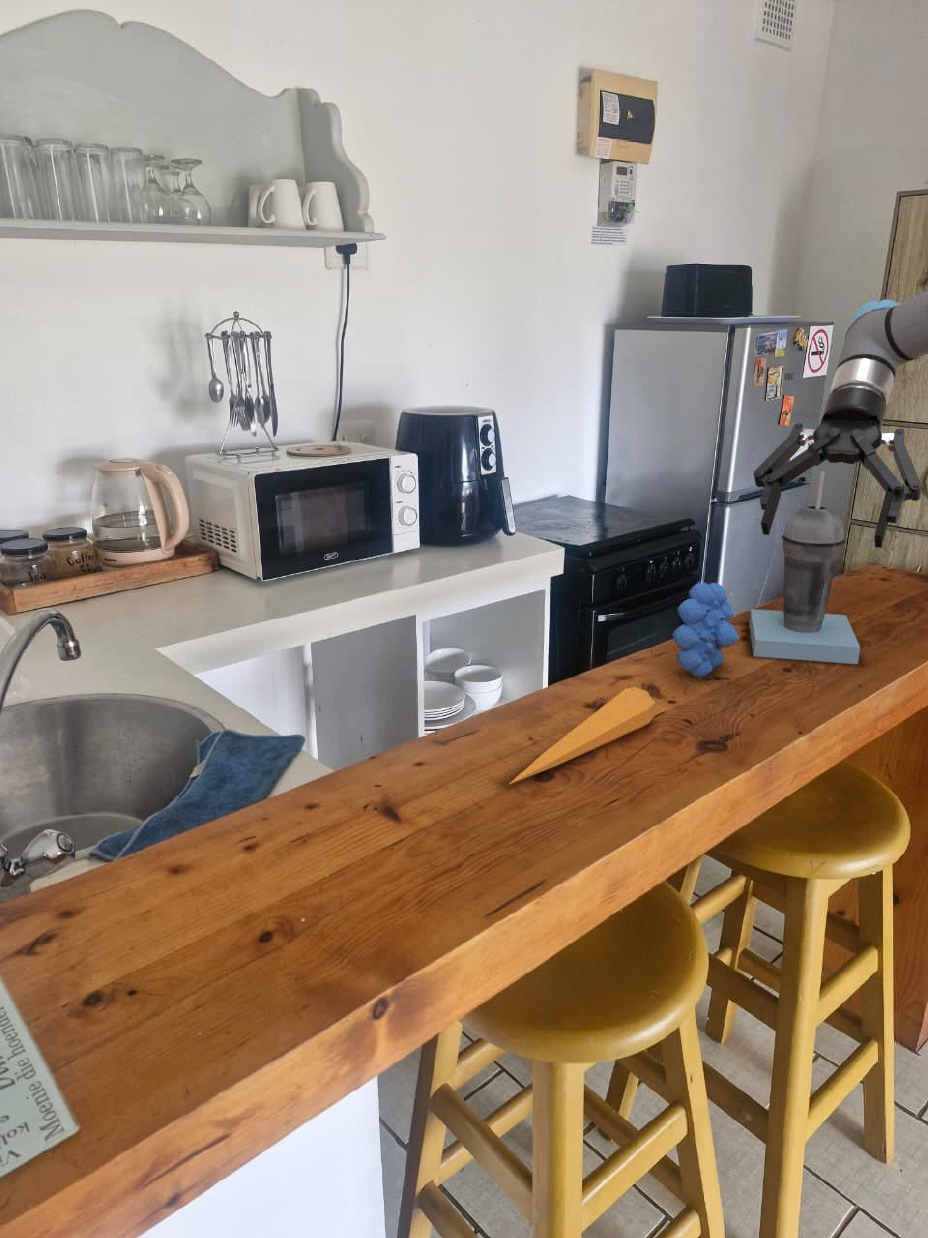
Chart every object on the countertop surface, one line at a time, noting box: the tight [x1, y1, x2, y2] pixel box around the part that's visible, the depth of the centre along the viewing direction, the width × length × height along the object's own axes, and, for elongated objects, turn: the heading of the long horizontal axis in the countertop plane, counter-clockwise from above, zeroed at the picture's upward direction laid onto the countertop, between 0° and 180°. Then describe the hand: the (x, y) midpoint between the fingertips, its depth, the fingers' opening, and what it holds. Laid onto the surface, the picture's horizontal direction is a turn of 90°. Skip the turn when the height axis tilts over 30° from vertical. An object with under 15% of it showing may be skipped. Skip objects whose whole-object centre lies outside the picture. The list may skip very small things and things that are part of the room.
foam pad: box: [748, 608, 861, 665], centre depth 111 cm, size 12×12×2 cm
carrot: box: [509, 686, 656, 785], centre depth 85 cm, size 20×4×4 cm, turn 131°
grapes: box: [672, 582, 740, 679], centre depth 100 cm, size 12×7×12 cm, turn 138°
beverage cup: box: [781, 470, 846, 633], centre depth 107 cm, size 7×7×20 cm
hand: (819, 535), depth 110 cm, fingers open, 13 cm apart
